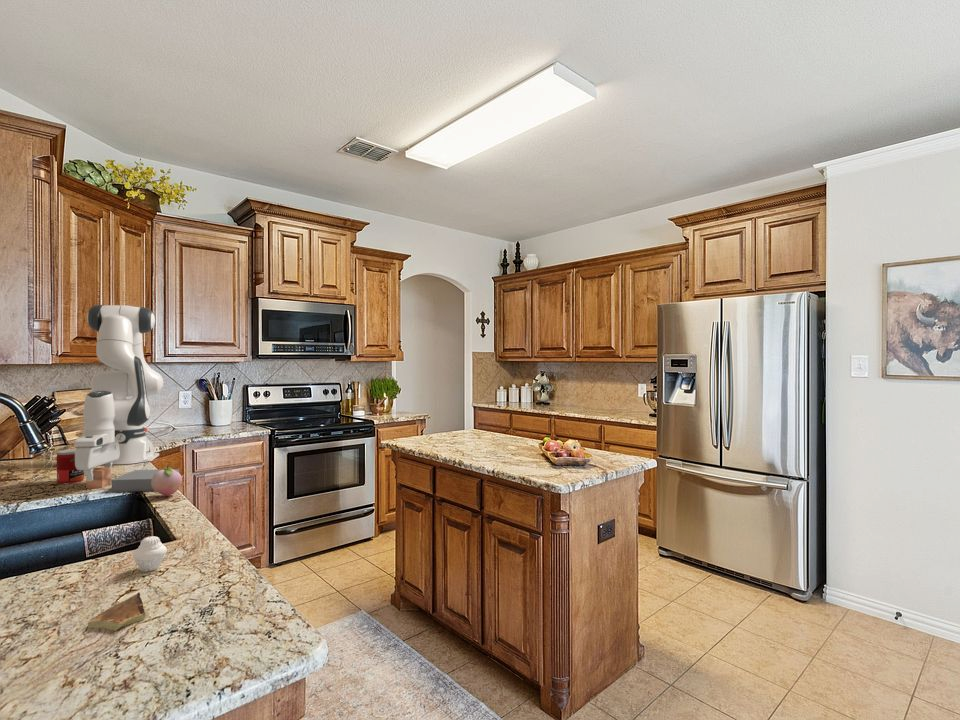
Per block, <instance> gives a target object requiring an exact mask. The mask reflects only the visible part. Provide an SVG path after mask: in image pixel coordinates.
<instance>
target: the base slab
mask: <svg viewBox="0 0 960 720" xmlns="http://www.w3.org/2000/svg"><path fill="white" fill-rule="evenodd" d="M172 469H173V468H172ZM161 470H162V469H137V470H136V469H134V470H132V471H130V472H127V473H126V474H125V473H124V474H123V475H120V476H118V477H116V478H114V479H113V478H112V479H111V492H112V493H117V492H123V493H124V492H126V493H127V492H153V491H154V492H156V491H155V490H154V489H153V488H152V485H151V481H152V478H153V476H154V475H155V474H156V473H157V472H158V471H161ZM173 470H175V471H177V472H179V473H180V469H179V468H177V469H176V468H175V469H173Z"/></svg>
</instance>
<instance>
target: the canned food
mask: <svg viewBox="0 0 960 720" xmlns="http://www.w3.org/2000/svg"><path fill="white" fill-rule="evenodd" d="M75 450H76V448H75V449H74V448H73V449H62V450H59V451H57V452H56V483H58V484H60V483H68V484H75V483H80V482H83V480H84V478H85V473H84V470H77V469H76V467H75Z"/></svg>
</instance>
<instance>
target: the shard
mask: <svg viewBox="0 0 960 720" xmlns="http://www.w3.org/2000/svg"><path fill="white" fill-rule="evenodd" d="M146 617H147V614H146V612H145V608H144V603H143V599H142V597H141V593H140V592H137V593H136V594H134V595H132V596H130V597H129V598H126V599H125V600H122V601H120V602H119V603H116V604H115V605H113V606H111V607H109V608H107V609H105V610H104V611H102V612H101V613H98V614H97V615H96V616H94V617H92V618H91V619H89V621H88V622H87V627H88V628H89V629H90V628H91V629H92V628H93V629H104V630H105V629H106V630H109V631H118V630H120V629H121V628H123V627H126V626H128V625H131V624H133V623H137V622H140V621H143V620H145V618H146Z"/></svg>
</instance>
